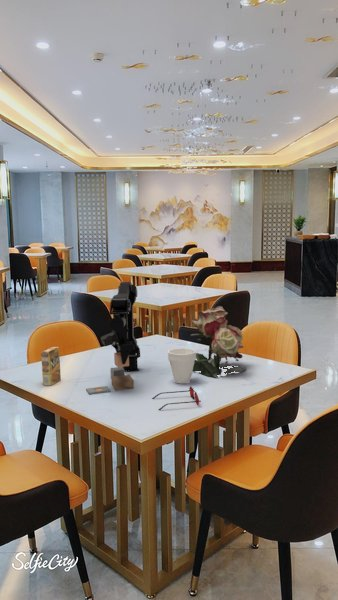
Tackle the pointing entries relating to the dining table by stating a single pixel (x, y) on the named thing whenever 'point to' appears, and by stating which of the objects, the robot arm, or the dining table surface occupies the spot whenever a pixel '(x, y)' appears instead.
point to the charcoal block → (117, 371)
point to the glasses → (184, 402)
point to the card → (98, 390)
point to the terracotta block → (118, 360)
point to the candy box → (50, 366)
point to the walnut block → (122, 382)
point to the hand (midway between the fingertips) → (121, 362)
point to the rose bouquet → (217, 342)
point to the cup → (182, 363)
